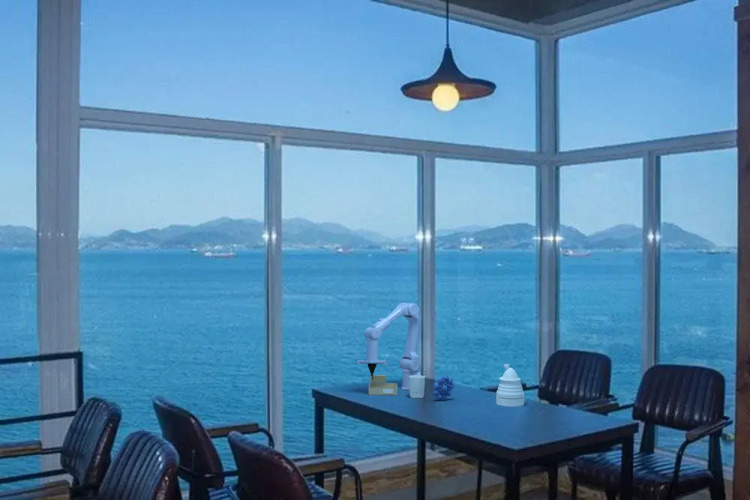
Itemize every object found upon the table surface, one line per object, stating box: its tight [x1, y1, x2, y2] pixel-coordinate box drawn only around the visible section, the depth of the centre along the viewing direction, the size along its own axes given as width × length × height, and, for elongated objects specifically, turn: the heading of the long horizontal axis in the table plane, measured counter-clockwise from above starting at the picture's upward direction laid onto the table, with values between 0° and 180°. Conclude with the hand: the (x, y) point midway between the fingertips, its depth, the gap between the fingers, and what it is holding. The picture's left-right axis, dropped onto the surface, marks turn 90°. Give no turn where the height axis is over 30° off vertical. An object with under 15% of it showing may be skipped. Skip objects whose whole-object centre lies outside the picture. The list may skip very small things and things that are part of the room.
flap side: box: [369, 374, 387, 383], centre depth 390 cm, size 8×1×5 cm
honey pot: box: [495, 363, 525, 408], centre depth 358 cm, size 13×13×18 cm
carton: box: [368, 382, 398, 396], centre depth 384 cm, size 14×14×4 cm
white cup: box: [409, 374, 426, 399], centre depth 373 cm, size 8×8×10 cm
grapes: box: [432, 374, 455, 401], centre depth 366 cm, size 12×7×12 cm, turn 117°
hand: (371, 379), depth 382 cm, fingers closed, pressing on flap far
